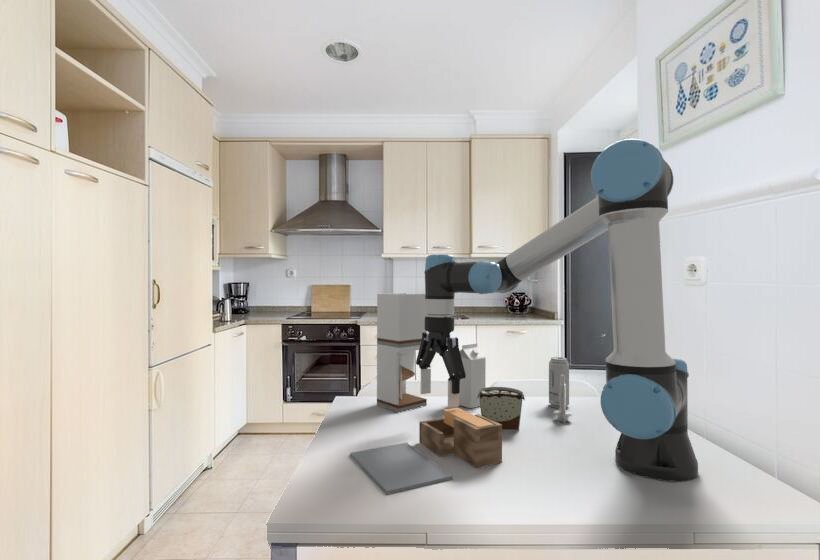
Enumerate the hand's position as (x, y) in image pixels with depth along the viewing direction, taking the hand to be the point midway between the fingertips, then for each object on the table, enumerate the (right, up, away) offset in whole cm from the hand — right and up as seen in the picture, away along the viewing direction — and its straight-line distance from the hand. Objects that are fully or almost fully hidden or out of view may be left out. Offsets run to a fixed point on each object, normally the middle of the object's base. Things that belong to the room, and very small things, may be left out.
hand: (438, 399), depth 110 cm
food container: (+17, -9, +7) cm, 20 cm away
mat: (-10, -9, -19) cm, 23 cm away
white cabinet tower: (-10, -9, +26) cm, 30 cm away
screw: (+36, -9, +12) cm, 39 cm away
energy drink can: (+39, -9, +26) cm, 48 cm away
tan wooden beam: (+6, -4, -11) cm, 13 cm away
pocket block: (+6, -9, -11) cm, 15 cm away
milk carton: (+12, -9, +28) cm, 31 cm away
